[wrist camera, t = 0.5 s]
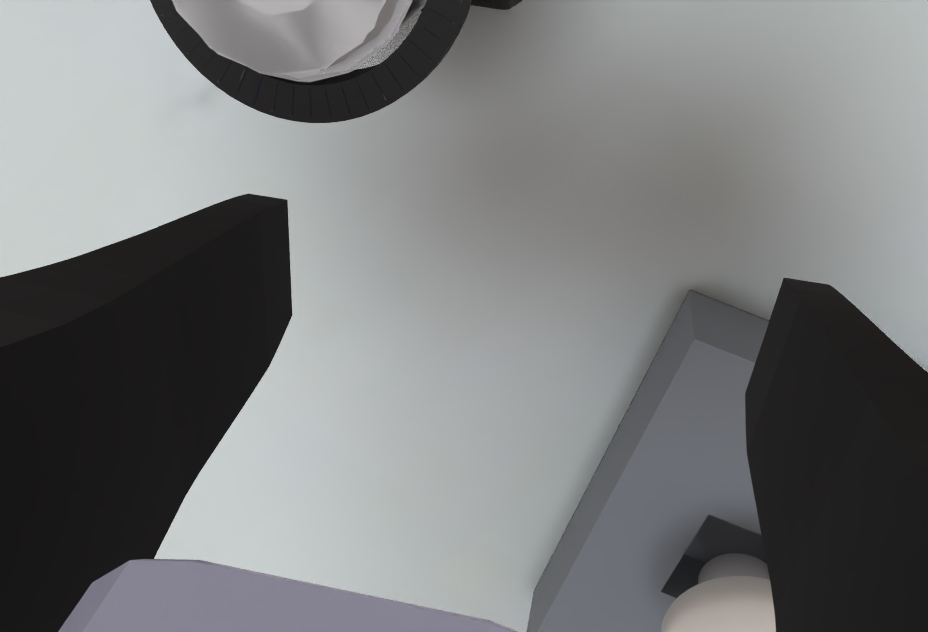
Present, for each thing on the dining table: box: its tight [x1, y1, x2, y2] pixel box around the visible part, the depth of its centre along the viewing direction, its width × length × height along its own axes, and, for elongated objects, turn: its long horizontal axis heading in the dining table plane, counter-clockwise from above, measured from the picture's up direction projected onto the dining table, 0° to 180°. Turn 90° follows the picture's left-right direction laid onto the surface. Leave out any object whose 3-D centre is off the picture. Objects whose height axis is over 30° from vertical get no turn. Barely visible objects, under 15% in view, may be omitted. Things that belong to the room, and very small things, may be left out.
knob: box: [661, 553, 776, 632], centre depth 21 cm, size 4×4×3 cm
